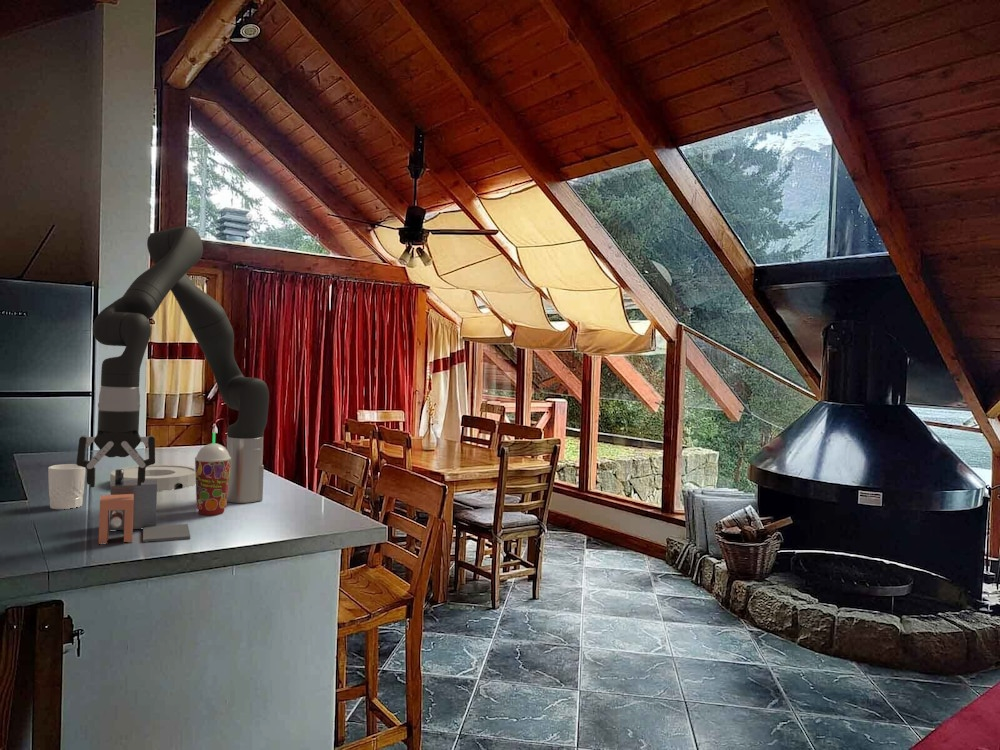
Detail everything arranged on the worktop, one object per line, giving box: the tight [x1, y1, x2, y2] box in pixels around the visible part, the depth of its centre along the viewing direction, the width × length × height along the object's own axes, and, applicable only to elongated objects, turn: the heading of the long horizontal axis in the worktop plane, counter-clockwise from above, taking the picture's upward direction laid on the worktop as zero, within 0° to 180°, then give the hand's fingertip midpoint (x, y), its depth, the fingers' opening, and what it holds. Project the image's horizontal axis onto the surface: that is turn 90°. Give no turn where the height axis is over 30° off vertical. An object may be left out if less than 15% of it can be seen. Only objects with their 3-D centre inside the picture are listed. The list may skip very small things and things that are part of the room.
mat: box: [142, 523, 191, 543], centre depth 149 cm, size 9×11×1 cm
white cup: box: [47, 463, 87, 510], centre depth 170 cm, size 8×8×10 cm
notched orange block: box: [98, 494, 134, 545], centre depth 143 cm, size 6×6×9 cm
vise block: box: [109, 468, 158, 531], centre depth 149 cm, size 18×9×13 cm, turn 27°
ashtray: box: [109, 464, 196, 492], centre depth 202 cm, size 23×23×4 cm
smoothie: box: [194, 432, 231, 516], centre depth 170 cm, size 8×8×20 cm
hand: (116, 485), depth 143 cm, fingers open, 8 cm apart
